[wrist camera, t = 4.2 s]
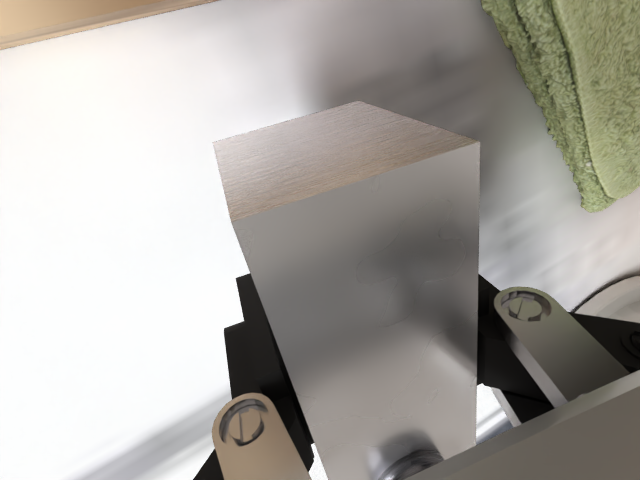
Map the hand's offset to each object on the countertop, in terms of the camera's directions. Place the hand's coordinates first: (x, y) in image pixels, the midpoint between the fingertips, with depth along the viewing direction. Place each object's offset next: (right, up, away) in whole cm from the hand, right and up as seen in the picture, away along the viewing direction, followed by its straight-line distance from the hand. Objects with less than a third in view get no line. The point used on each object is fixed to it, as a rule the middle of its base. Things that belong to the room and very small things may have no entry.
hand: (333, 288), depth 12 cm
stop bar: (0, 0, +1) cm, 1 cm away
